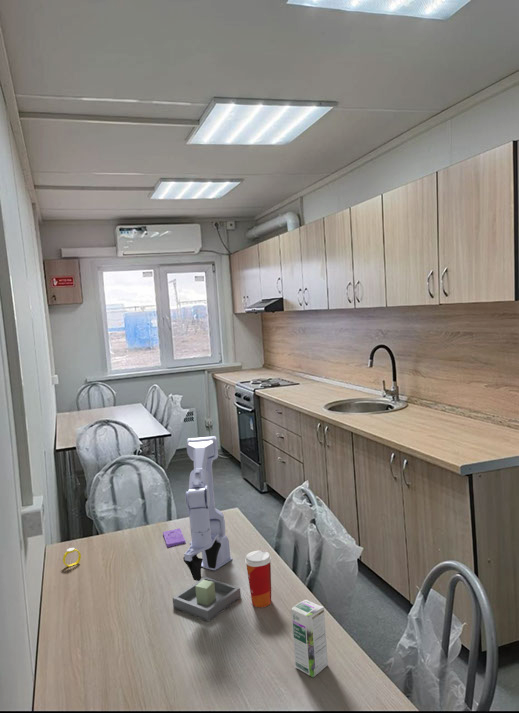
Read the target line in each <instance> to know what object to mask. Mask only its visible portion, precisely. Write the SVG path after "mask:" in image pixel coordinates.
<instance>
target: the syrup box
mask: <svg viewBox="0 0 519 713" xmlns="http://www.w3.org/2000/svg"><path fill="white" fill-rule="evenodd" d="M290 612H291V615H290V616H291V625H292V638H293V640H292V641H293V653H294V666H295V669H298V670H299V671H301V672H303V673H305V674H306V675H308V676H309V677H312V678H315V677H316V676H317V675H318V674H319V673H320V672H322V671H323V670H324V669H325V668H326V667H328V666H329V664H328V663H329V661H328V647H327V646H328V645H327V644H328V643H327V634H326V633H327V632H326V631H327V630H326V617H325V607H324V606H323V605H320V604H317V603H315V602H313V601H311V600H310V599H309V600H308V599H304V600H301V601H300V602H298V603H297V604H296V605H294V606H293V607H292V608H291V610H290Z"/></svg>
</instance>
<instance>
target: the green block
mask: <svg viewBox="0 0 519 713" xmlns="http://www.w3.org/2000/svg"><path fill="white" fill-rule="evenodd" d="M195 588H196V599H197V603H201V604H205V605H209V604H210V603H211V602H212V601H213V600H214V599H216V595H215V584H214V582H212V581H208V580H202V581H201V582H200V583H198V584H197V585H196V586H195Z"/></svg>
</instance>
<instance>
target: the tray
mask: <svg viewBox="0 0 519 713" xmlns="http://www.w3.org/2000/svg"><path fill="white" fill-rule="evenodd" d="M202 580H208V581H212V582H214V584H215V595H216V599H214V600H213V601H212V602H211V603H210V604H209V605H205V604H201V603H197V599H196V588H195V586H196V585H197V584H198V583H200V582H201V581H202ZM241 598H242V596H241V588H240V587H239V586H235V585H232V584H229V583H227V582H223V581H221V580H217V579H215V578H211V577H208V576H204V577H202V578H201V580H200V581H196V582H195V583H193V584H192V585H190V586H188V587H187V588H185V589H184V590H182V591H181V592H179V593H177V594H176V595H174V596H173V597H172V605H173V608H174V609H176V610H179V611H181V612H184V613H186V614H188V615H191V616H194V617H196V618H197V619H198V618H199V619H201V620H204V621H206V622H210V621H211V620H213V619H214V618H216V617H217V616H218V615H220V614H221V613H222V612H224V611H225V610H226V609H228V608H229V607H231V606H232V605H233V604H235V603H236V602H237V601H238V600H240V599H241Z"/></svg>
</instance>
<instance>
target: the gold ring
mask: <svg viewBox="0 0 519 713" xmlns="http://www.w3.org/2000/svg"><path fill="white" fill-rule="evenodd" d="M73 552H77V554H78V557H77V560H76V561H75V562H74V563H73V562H72V563H71V564H67V563H66V558H67V556H68V555H69V554H71V553H73ZM81 558H82V554H81V551H79V550H78V549H76V548H75V547H69V548H67V549H66V552H64V553H63V557H62V562H63V564H64V565H65V566H66V567H68V568H70V566H71V567H74V566H76V565H78V564H79V563H80V562H81ZM73 565H74V566H73Z"/></svg>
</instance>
